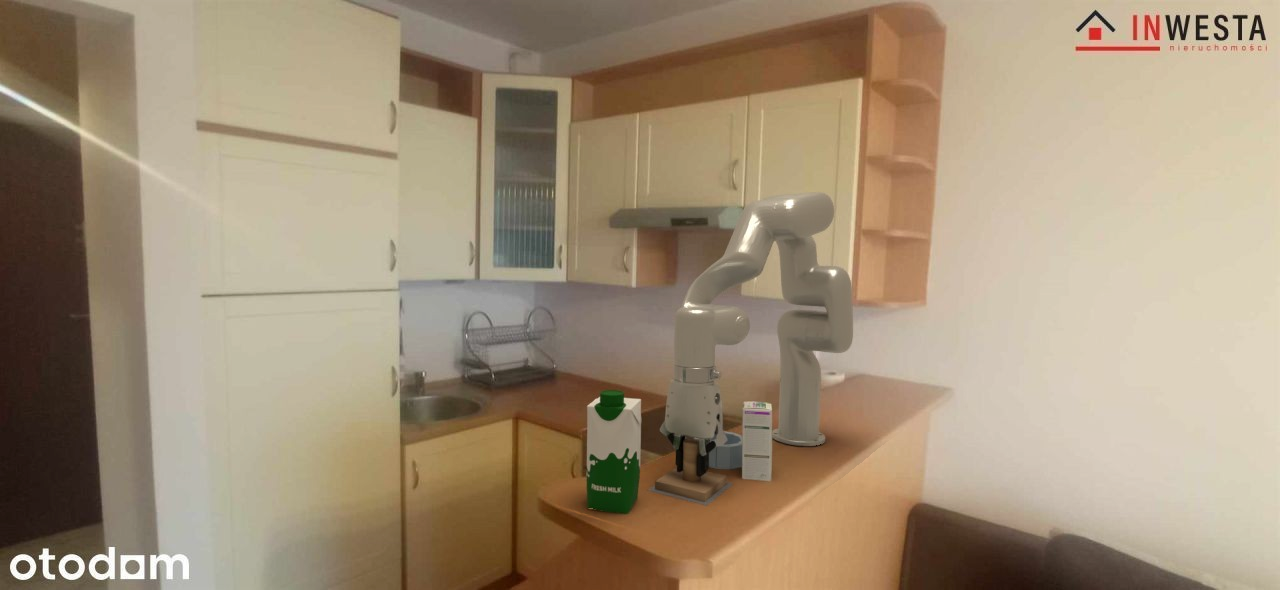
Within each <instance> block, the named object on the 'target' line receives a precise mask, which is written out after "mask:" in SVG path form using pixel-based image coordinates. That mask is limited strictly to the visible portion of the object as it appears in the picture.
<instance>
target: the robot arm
mask: <svg viewBox="0 0 1280 590" xmlns="http://www.w3.org/2000/svg"><path fill="white" fill-rule="evenodd" d="M834 215H835V206H834V202H833V200H832V198H831V197H830V196H829V195H828V194H827V193H825V192H821V191H816V192H803V193H788V194H787V193H786V194H779V195H778V194H777V195H772V196H771V195H770V196H767V197H764V198H763V199H760V200H755V201H752V202H750V203H748V204H747V205H746V206H744V208H743V209H742V211H741V213H740V216H739V218H738V220H737V222H736V225H735V228H734V230H733V233H732V235H731V237H730V240H729V242H728V243H727V246H726V249H725V251H724V254H723V255H722V256H721V257H720V258H719V259H718V260H717V261H715V262H714V263H712V264H711V265H710V266H709V267H708V268H706V269H705V270H704V271H703V272H702V273H701V274H700V275H698V276H697V277H696V278H695V280H694V281H693V282H692V284H690V286H689V288H688V290H687V292H686V293H685V296H684V299H683V301H682V302H681V306H680V308H678V309H677V310H676V312H675V314H674V336H673V337H674V339H673V341H674V342H673V343H674V344H673V345H674V347H673V351H674V352H673V379H671V380H670V382H669V386H668V391H667V395H666V403H665V417H664V421H663V422H662V424H661V426H660V428H659V432H661V434H662V435H664V436H665V437H667V439H668V440H669V442H670V443H671V445H672V448H673V450H674V451H675V466H676V468H677V472H682V471H683V440H685V439H687V437H689V438H693V439H694V438H698V440H699V450H700V451H699V455H697V471H696V475H697V476H698V477H701V476H702V475H704V474H705V473H706V472H707V471H708V472H709V469H710V467H709V452H711V451H712V450H713V449H714V448H715V447H717V446H720V445H722V444H724V443H726V442H727V441H728V439H727V437H726V435H725V433H724V431H725V430H724V429H723V428H724V419H723V403H722V393H721V389H720V383H719V382H717V381H716V379H719V380H720V379H721V378H722V371H720V370H717V369H716V368H717V367H716V366H715V362H716V360H715V359H716V345H721V346H734V345H738V344H740V343H741V342H743V341H744V340H745V339H746V337H748V334H749V331H750V327H751V323H750V318H749V316H748V315H747V313H746V312H745V311H744V310H743V309H741V308H739V307H737V306H732V305H719V304H712V303H713V301H714V300H715V299H716V298H717V297H718V296H720V295H721V294H722V293H724V292H725V291H727V290H729V289H731V288H734V287H737V286H739V285H742V284H744V283H747V282H750V281H751V280H754V279H755V278H757V277H759V276H760V275H761V274H762V272H763V271H764V268H765V265H766V263H767V260H768V257H769V254H770V252H771V250H772V247H773V244H774V242H775V243H776V245H777V248H778V253H779V254H778V255H779V266H780V269H779V270H780V285H781V293H782V298H783V300H784V301H785V302H786V303H788V304H791V305H796V306H804V307H805V306H806V307H821V308H822V307H823V308H825V310H826V311H822V310H821V311H820V310H812V309H811V310H810V309H809V310H808V309H791V310H787V311H786V312H783V313H782V314H781V315H780V316H779V319H778V321H777V326H776V328H777V331H776V332H777V339H778V345H779V353H780V355H779V357H780V360H779V361H780V364H779V365H780V368H779V370H780V371H779V397H778V398H779V399H778V428H775V429H772V439H773V440H775V441H777V442H779V443H782V444H786V445H791V446H798V447H816V445H817V446H821V445H823V444H824V443H825V442H826V435H825V434H824V433H822V432H821V431H820V410H821V409H820V408H821V406H820V405H821V404H820V403H821V381H822V380H821V379H822V378H821V377H822V371H821V364H820V362H819V360H818V358H817V356H816V355H815V353H814V352H821V353H823V352H824V353H831V354H842V353H845V352H847V351H848V350H849V349H850V348H851V346H852V343H853V337H854V315H853V313H854V311H853V288H852V280H851V277H850V275H849V273H848V272H847V270H845V269H844V268H843V267H840V266H836V265H819V263H818V256H817V255H818V253H817V244H816V242H815V238H813V236H814V235H817V234H820V233H822V232H824V231H826V230H827V229H828V228H829V227H830V226H831V224H832V222H833V219H834ZM714 434H715V435H716V437H717V438H716V439H715V440H713V441H711V439H712V438H713V437H714ZM820 444H821V445H820Z"/></svg>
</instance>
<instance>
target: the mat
mask: <svg viewBox="0 0 1280 590" xmlns="http://www.w3.org/2000/svg"><path fill="white" fill-rule="evenodd" d="M733 485H734V482H729V481H727V484H726V485H725V486H723V487H722V488H721V489H720V490H718V491H717V492H716V493H715V494H714V495H712V496H711V497H710V498H709V499H708V500H706V501H705V502H703V501H699V500H696V499H692V498H688V497H684V496H680V495H676V494H672V493H668V492H664V491H660V490H656V489H655V484H654V485H653V486H651V487H649V488H648V489H647V491H649V492H652V493H655V494H656V493H657V494H659V495H660V494H661V495H663V496H668V497H672V498H675V499H680V500H683V501H688V502H690V503H695V504H699V505H703V506H706V507H708V506H709V505H710V504H711V503H712V502H713V501H715V500H716V499H717V498H718V497H720V496H721V495H722V494H723V493H724V492H725V491H727V490H728V489H729V488H730V487H732V486H733Z"/></svg>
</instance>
